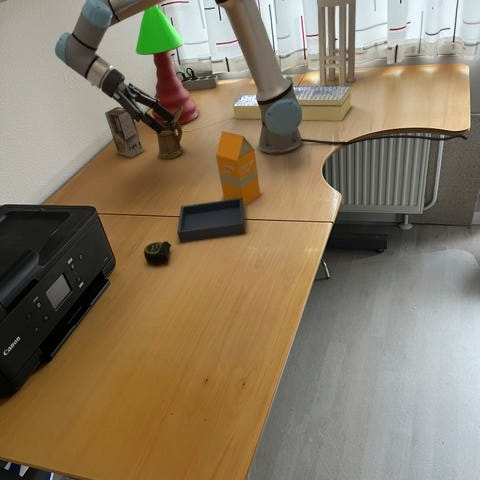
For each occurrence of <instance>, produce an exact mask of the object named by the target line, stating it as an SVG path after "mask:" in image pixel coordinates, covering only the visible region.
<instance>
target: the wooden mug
mask: <svg viewBox="0 0 480 480" xmlns="http://www.w3.org/2000/svg"><path fill="white" fill-rule="evenodd" d="M182 110H183V107H182V105H181V106H179V108H178V109H177V111H176V112H175V114H174V116H175V118H174V119H173V121H172V123H171V124H170V123H168V122H167V121H165V122H161V124H162V125H164V126H165V127H164V129H163V130H162V132H161V134H160V135H159V134H158V133H157V132H155V134H156V135H157V136H156V137H157V143H158V154H159V158H160V159H163V160H170V159H175V158H178V157H179V156H181V155H182V154H183V152H184V148H183V146H182V145H181V140H182V137H183V128H182V125H180V124H179V123H178V119H179V117H180V115H181V113H182ZM176 131H177V132H176Z"/></svg>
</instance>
